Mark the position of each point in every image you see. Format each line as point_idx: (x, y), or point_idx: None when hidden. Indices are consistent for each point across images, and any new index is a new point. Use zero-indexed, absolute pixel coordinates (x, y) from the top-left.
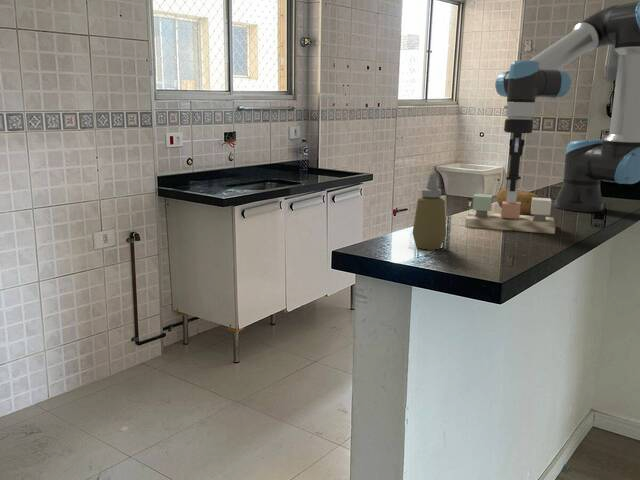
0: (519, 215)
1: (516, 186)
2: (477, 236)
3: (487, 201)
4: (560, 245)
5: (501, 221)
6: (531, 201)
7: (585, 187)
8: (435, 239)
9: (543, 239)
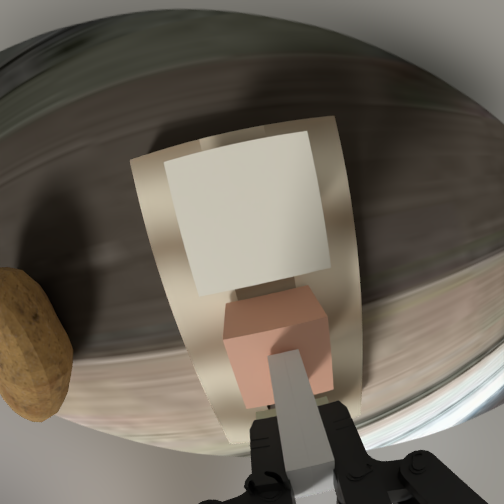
0: (311, 291)
1: (323, 425)
2: (452, 328)
3: None
4: (462, 110)
5: (361, 330)
6: (26, 303)
7: None
8: None
9: (428, 156)
